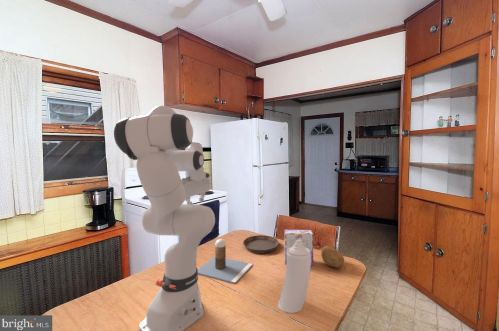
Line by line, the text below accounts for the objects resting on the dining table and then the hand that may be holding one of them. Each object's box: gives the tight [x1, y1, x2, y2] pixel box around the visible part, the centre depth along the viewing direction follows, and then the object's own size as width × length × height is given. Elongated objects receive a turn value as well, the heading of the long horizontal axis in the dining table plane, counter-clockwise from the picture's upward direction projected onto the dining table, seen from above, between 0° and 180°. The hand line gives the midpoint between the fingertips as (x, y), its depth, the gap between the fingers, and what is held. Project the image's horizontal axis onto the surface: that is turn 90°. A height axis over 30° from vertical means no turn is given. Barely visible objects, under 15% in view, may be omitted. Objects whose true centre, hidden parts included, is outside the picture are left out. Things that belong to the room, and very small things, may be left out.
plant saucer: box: [242, 234, 279, 254], centre depth 145 cm, size 21×21×3 cm
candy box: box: [284, 229, 314, 266], centre depth 124 cm, size 14×6×16 cm, turn 84°
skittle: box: [214, 238, 227, 270], centre depth 120 cm, size 5×5×14 cm
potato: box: [320, 245, 345, 269], centre depth 121 cm, size 10×14×8 cm
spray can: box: [277, 240, 312, 314], centre depth 92 cm, size 12×11×25 cm
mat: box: [197, 256, 254, 285], centre depth 119 cm, size 18×22×1 cm
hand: (195, 203), depth 122 cm, fingers open, 8 cm apart
